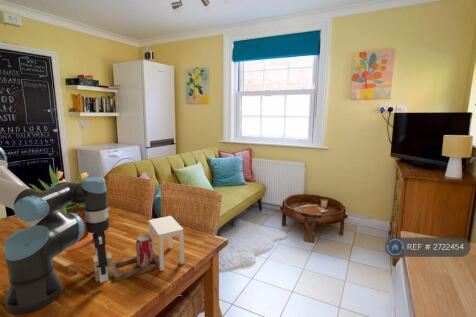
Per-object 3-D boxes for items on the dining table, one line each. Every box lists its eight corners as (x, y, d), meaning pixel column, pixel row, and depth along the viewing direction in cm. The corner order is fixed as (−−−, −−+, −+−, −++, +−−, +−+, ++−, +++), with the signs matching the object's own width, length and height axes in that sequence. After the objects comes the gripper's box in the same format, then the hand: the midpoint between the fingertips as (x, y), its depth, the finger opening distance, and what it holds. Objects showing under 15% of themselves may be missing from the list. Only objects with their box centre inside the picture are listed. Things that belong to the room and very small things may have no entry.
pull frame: (96, 286, 95) (94, 266, 93) (94, 271, 104) (92, 252, 102) (160, 267, 107) (159, 249, 105) (152, 254, 116) (152, 237, 114)
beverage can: (149, 269, 105) (148, 241, 103) (134, 268, 106) (132, 241, 104) (155, 260, 111) (154, 234, 109) (141, 259, 112) (139, 233, 110)
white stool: (160, 270, 104) (158, 234, 102) (150, 252, 118) (148, 220, 115) (184, 263, 110) (183, 229, 107) (171, 246, 123) (170, 215, 120)
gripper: (113, 230, 88) (117, 286, 92) (104, 206, 108) (108, 253, 112) (87, 235, 84) (93, 294, 88) (83, 210, 104) (88, 258, 108)
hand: (102, 271), depth 100 cm, fingers open, 13 cm apart
